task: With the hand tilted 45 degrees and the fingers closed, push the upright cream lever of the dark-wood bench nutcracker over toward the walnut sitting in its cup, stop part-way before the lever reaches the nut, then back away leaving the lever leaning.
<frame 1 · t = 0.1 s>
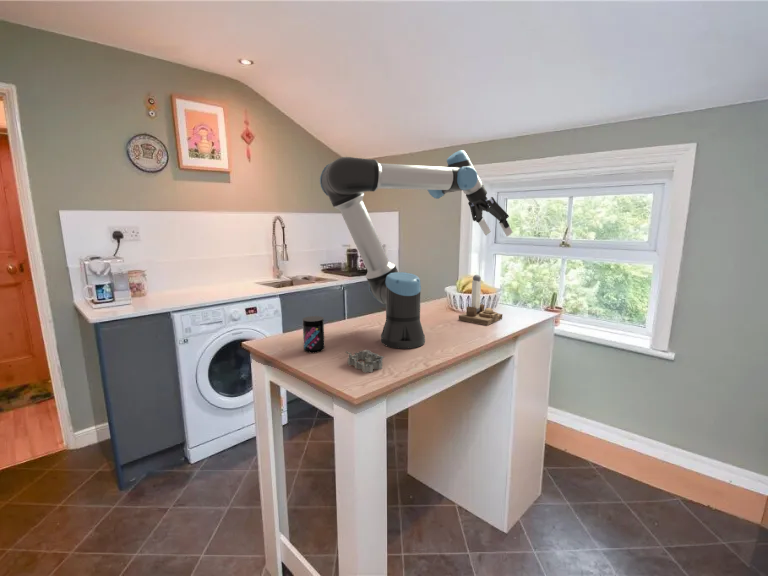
hand: (498, 233, 152), 36 cm above the countertop, tool tilted 35°, fingers open, 13 cm apart
walnut: (488, 316, 157), point 2 cm above the countertop, touching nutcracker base
egg carton: (365, 366, 109), on the countertop
lever: (476, 293, 159), point 11 cm above the countertop, hinge at 0.0°
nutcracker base: (480, 319, 159), on the countertop
supplement container: (314, 350, 122), on the countertop
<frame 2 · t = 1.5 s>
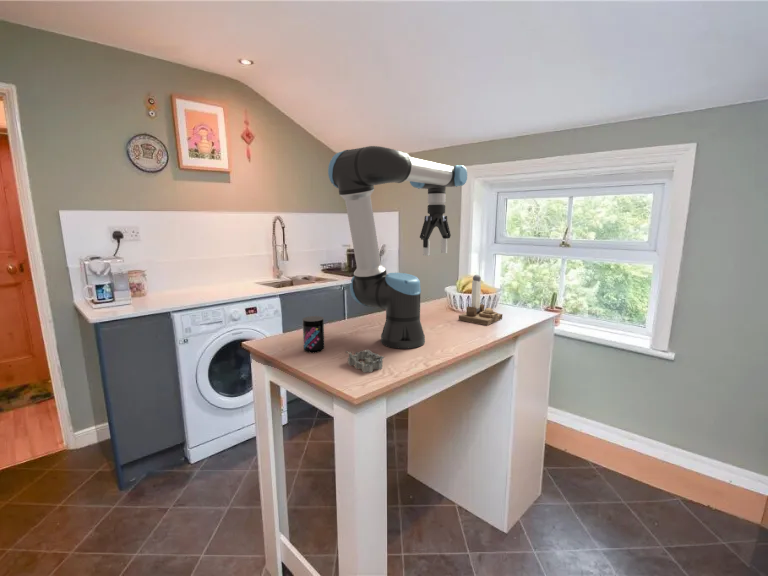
hand: (435, 254, 164), 27 cm above the countertop, tool pointing down, fingers open, 13 cm apart
nothing on the countertop moved.
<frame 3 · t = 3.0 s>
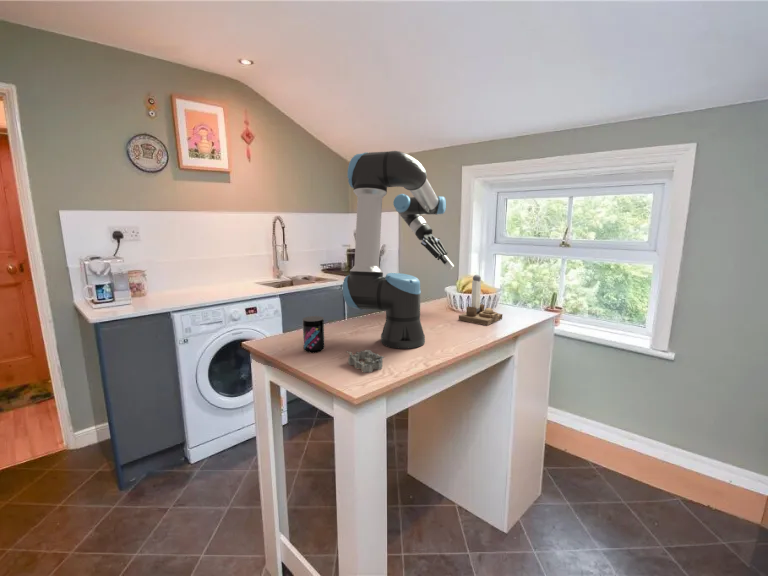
hand: (451, 268, 165), 21 cm above the countertop, tool tilted 45°, fingers closed
nothing on the countertop moved.
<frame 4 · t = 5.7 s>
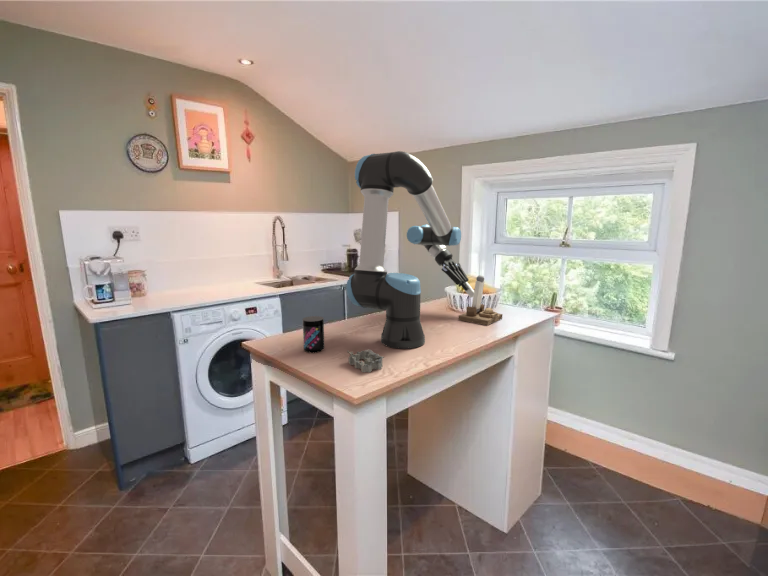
hand: (473, 295, 160), 10 cm above the countertop, tool tilted 45°, fingers closed
lever: (478, 294, 158), point 11 cm above the countertop, hinge at 6.9°, touching gripper
everything else where it was.
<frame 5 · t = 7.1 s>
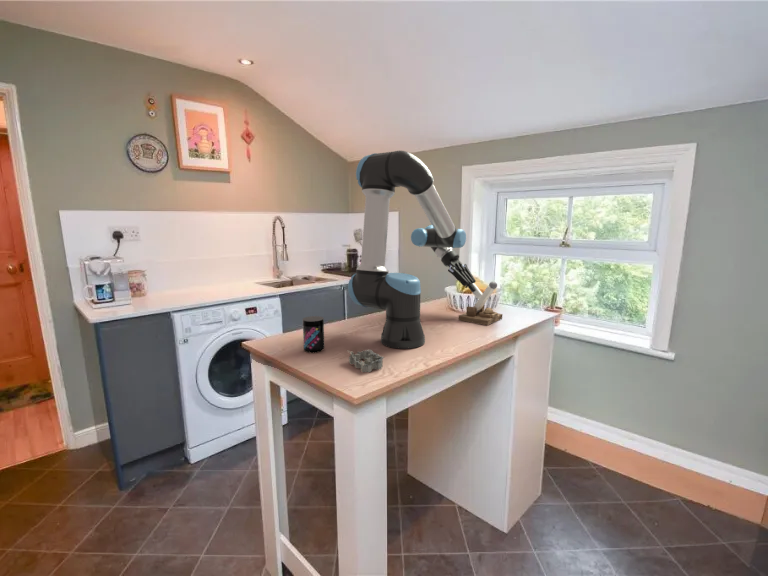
hand: (480, 297, 158), 10 cm above the countertop, tool tilted 45°, fingers closed
lever: (484, 297, 157), point 10 cm above the countertop, hinge at 32.2°, touching gripper
everything else where it was.
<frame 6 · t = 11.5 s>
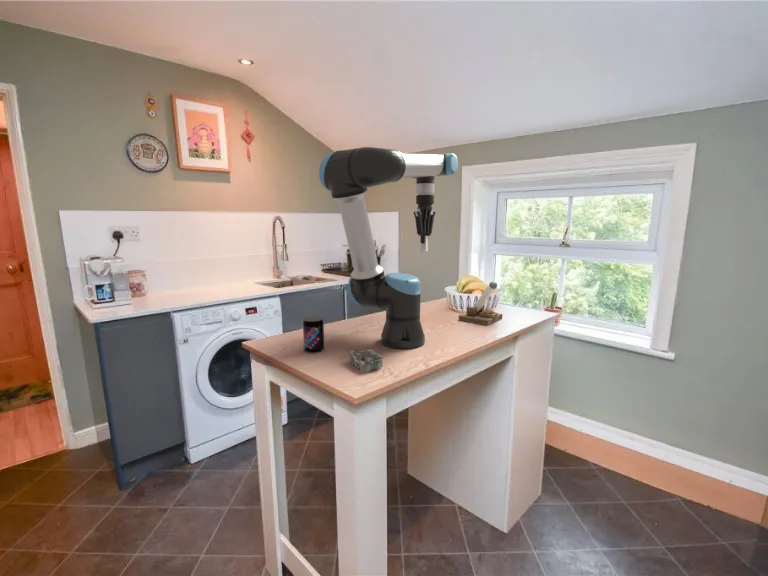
hand: (424, 251, 161), 28 cm above the countertop, tool pointing down, fingers closed
lever: (484, 297, 157), point 10 cm above the countertop, hinge at 32.3°
everything else where it was.
at the end: lever at +32° (first picture: +0°); walnut moved 0.0 cm from its start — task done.
